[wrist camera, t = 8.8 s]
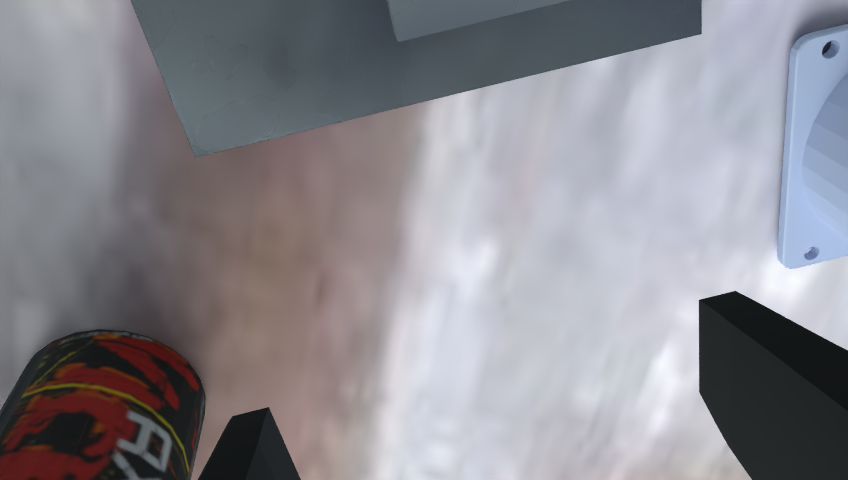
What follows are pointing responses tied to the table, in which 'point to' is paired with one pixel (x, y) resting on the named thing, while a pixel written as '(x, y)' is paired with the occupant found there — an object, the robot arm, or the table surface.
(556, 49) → the base plate with holder
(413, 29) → the column
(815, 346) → the robot arm
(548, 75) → the table surface
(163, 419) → the deodorant
